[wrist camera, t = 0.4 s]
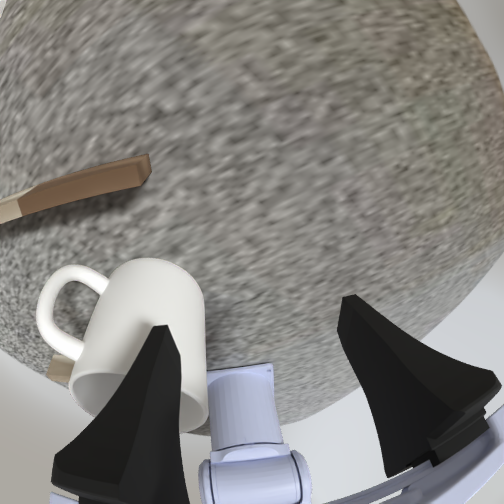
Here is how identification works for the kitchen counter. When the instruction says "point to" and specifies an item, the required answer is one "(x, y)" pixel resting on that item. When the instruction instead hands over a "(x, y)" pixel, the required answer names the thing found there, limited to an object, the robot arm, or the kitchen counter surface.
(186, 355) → the cup
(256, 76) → the kitchen counter surface
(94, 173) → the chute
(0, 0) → the plate stack
